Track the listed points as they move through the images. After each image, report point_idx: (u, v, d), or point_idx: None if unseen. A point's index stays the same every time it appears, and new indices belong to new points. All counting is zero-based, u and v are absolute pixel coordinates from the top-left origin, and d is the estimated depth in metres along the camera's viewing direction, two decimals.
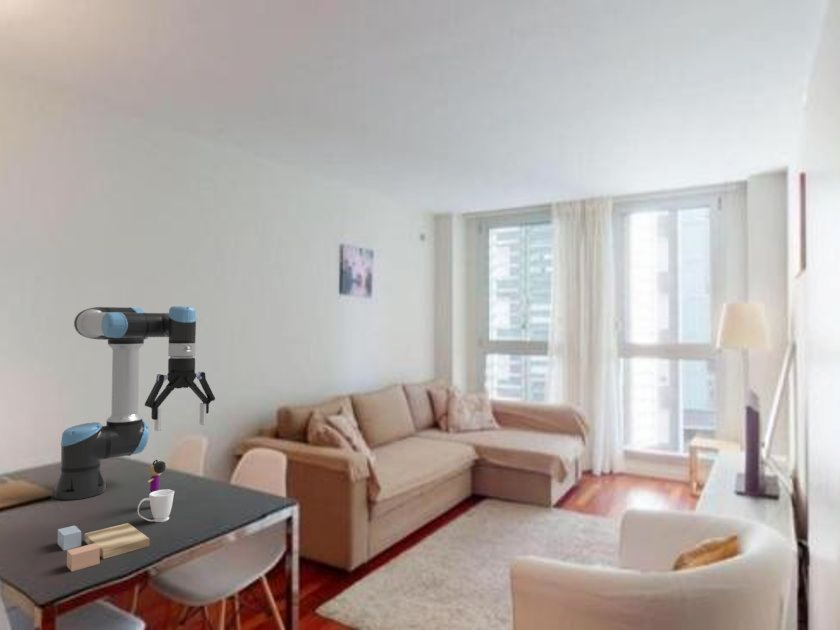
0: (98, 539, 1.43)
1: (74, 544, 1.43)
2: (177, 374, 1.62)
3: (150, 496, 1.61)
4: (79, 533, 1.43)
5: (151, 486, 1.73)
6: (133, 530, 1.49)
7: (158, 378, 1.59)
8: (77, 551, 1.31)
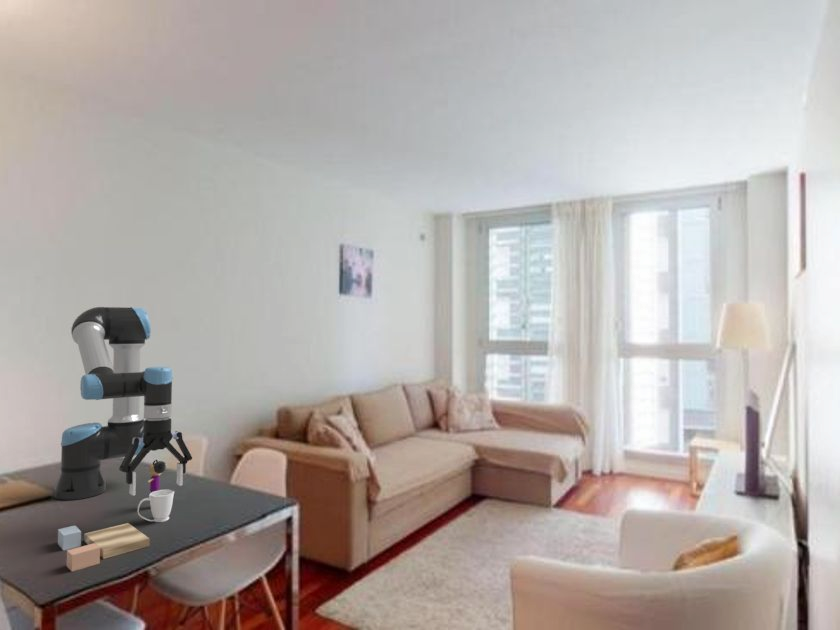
0: (98, 539, 1.43)
1: (74, 544, 1.42)
2: (152, 436, 1.61)
3: (150, 496, 1.61)
4: (79, 533, 1.43)
5: (151, 486, 1.73)
6: (133, 530, 1.49)
7: (133, 442, 1.57)
8: (77, 551, 1.31)
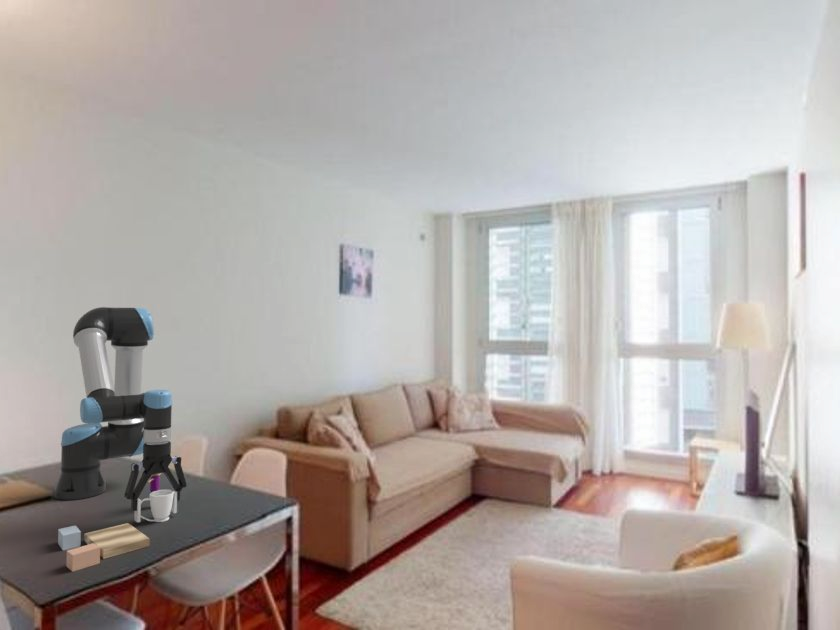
0: (98, 539, 1.43)
1: (73, 544, 1.42)
2: (151, 459, 1.61)
3: (150, 496, 1.61)
4: (78, 533, 1.43)
5: (151, 486, 1.73)
6: (133, 530, 1.49)
7: (133, 468, 1.57)
8: (77, 551, 1.31)
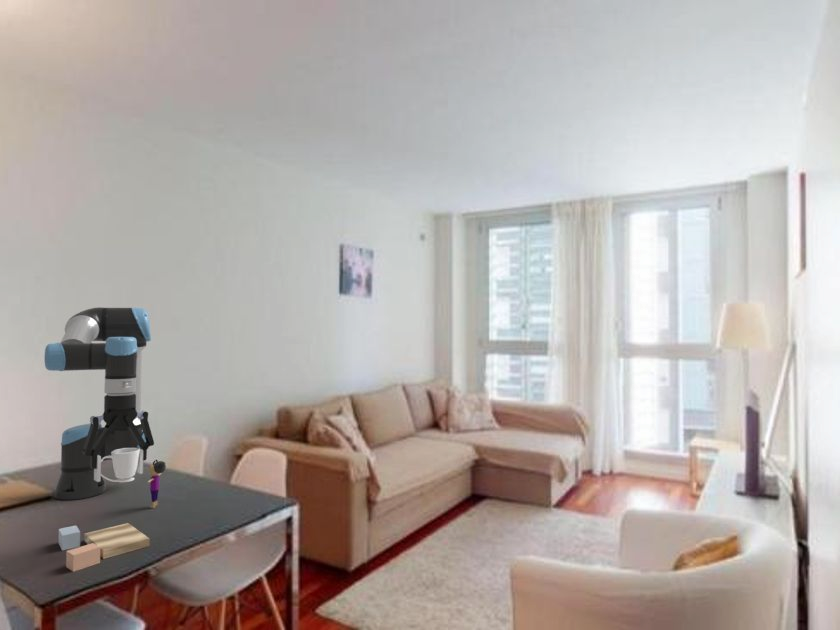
0: (98, 539, 1.43)
1: (73, 544, 1.42)
2: (113, 412, 1.44)
3: (112, 453, 1.45)
4: (78, 533, 1.43)
5: (151, 486, 1.73)
6: (133, 530, 1.49)
7: (92, 421, 1.41)
8: (78, 551, 1.31)
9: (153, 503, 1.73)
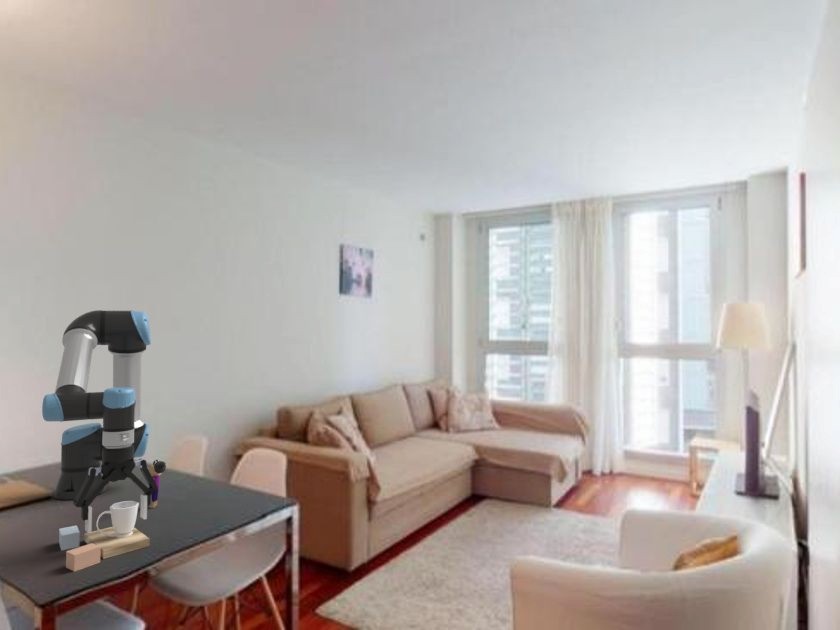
0: (98, 539, 1.43)
1: (72, 545, 1.42)
2: (112, 466, 1.44)
3: (111, 509, 1.44)
4: (77, 534, 1.43)
5: None
6: (133, 530, 1.49)
7: (89, 473, 1.40)
8: (78, 551, 1.31)
9: (153, 503, 1.73)
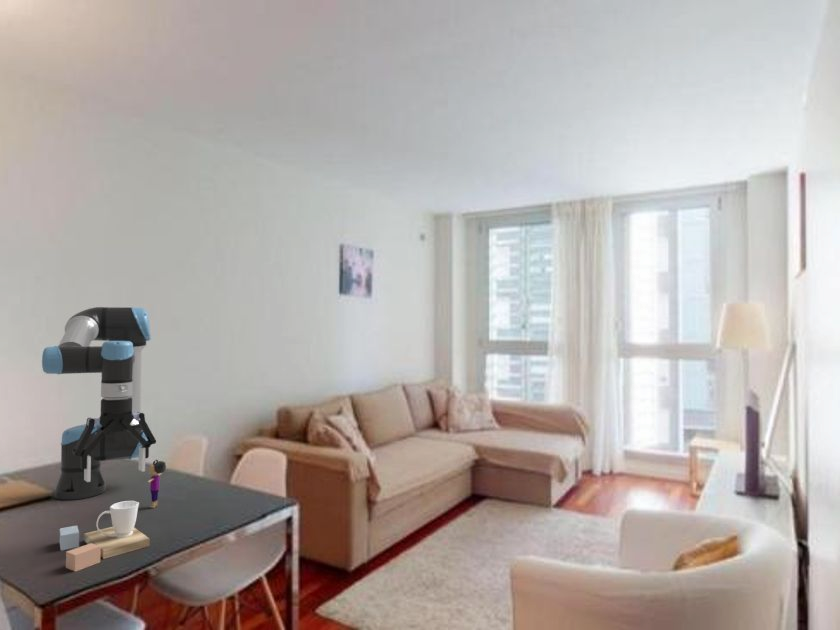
0: (98, 539, 1.43)
1: (71, 545, 1.42)
2: (110, 417, 1.45)
3: (111, 509, 1.44)
4: (77, 534, 1.43)
5: (151, 486, 1.73)
6: (133, 530, 1.49)
7: (88, 423, 1.42)
8: (78, 551, 1.31)
9: (153, 503, 1.73)
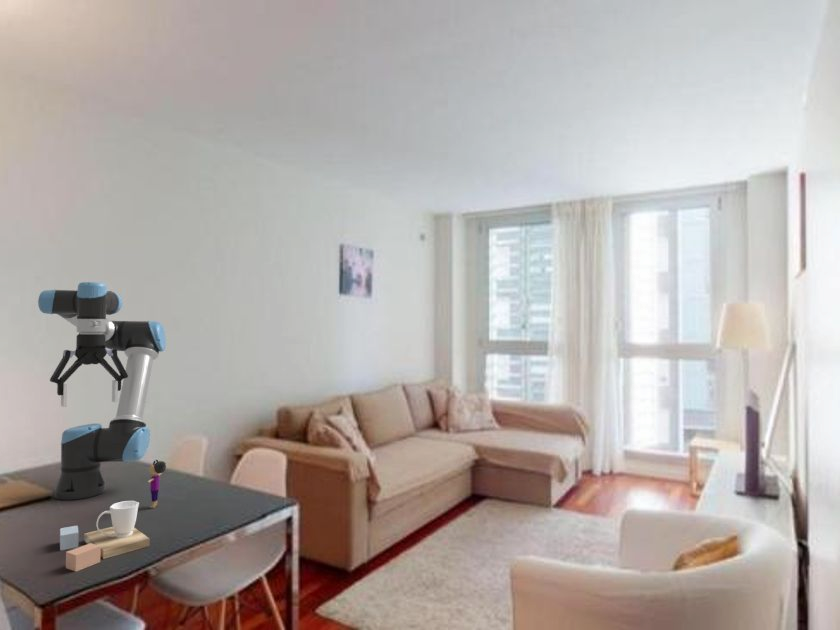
0: (98, 539, 1.43)
1: (71, 545, 1.42)
2: (85, 350, 1.61)
3: (111, 509, 1.44)
4: (76, 534, 1.43)
5: (151, 486, 1.73)
6: (133, 530, 1.49)
7: (64, 354, 1.58)
8: (79, 551, 1.31)
9: (153, 503, 1.73)
